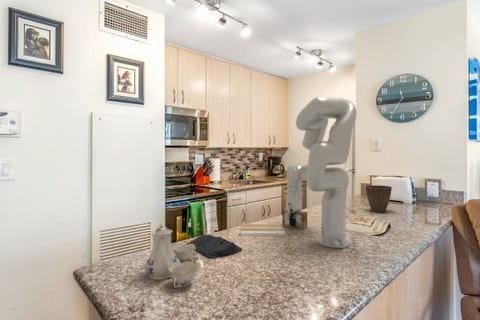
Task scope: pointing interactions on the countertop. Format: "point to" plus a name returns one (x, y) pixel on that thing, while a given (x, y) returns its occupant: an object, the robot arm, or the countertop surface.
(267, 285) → the countertop surface
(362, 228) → the grape print plaque
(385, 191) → the plant pot
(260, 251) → the countertop surface
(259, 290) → the countertop surface
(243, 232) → the ledge board
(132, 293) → the countertop surface
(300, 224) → the brown rectangular panel
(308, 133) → the robot arm
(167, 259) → the chinaware
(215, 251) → the dark folded cloth
